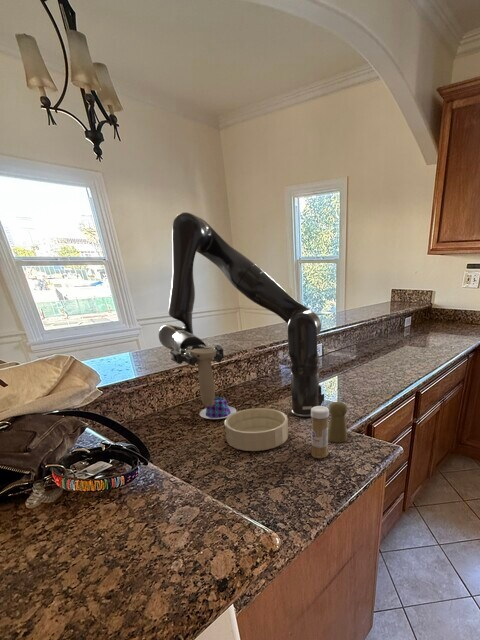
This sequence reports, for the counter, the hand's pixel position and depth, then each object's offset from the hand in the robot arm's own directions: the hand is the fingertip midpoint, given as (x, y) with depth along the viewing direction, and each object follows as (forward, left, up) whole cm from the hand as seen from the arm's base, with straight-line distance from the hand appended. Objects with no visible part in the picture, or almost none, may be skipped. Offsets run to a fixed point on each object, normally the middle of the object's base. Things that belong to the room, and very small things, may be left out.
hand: (206, 360), depth 90 cm
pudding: (-7, -20, -24) cm, 32 cm away
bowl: (-11, +4, -24) cm, 26 cm away
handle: (0, -2, -13) cm, 13 cm away
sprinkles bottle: (-21, +22, -24) cm, 38 cm away
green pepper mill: (-31, +16, -24) cm, 42 cm away
